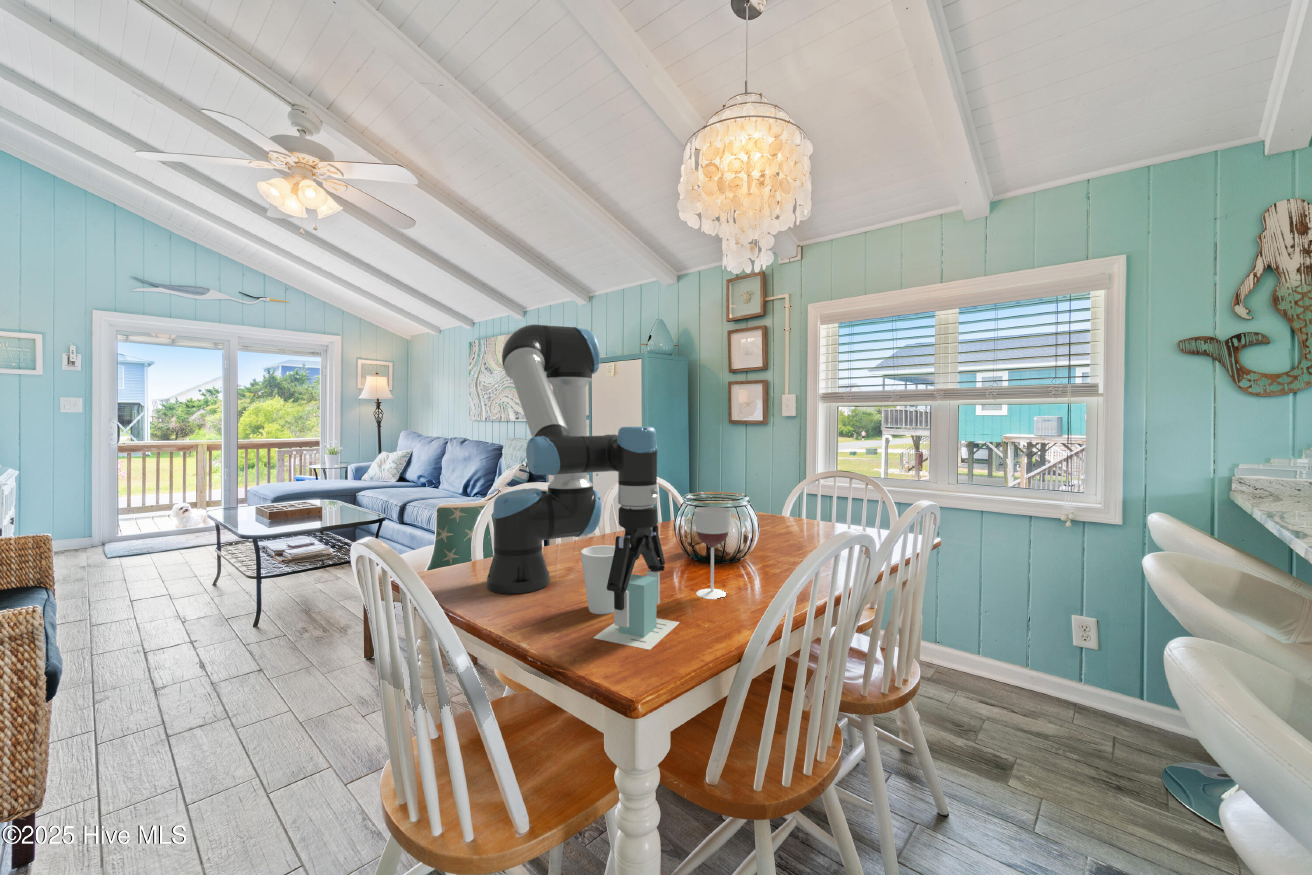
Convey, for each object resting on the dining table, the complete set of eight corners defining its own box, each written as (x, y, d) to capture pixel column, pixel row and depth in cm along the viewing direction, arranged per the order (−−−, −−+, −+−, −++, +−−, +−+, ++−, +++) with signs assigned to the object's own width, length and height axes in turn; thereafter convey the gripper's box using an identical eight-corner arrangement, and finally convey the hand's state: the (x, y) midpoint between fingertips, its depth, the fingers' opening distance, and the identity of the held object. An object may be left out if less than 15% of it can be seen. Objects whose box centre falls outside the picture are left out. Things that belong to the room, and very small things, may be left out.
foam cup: (617, 619, 112) (617, 557, 112) (575, 616, 114) (575, 555, 114) (629, 603, 122) (629, 546, 121) (589, 600, 124) (589, 544, 123)
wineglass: (736, 597, 126) (736, 511, 125) (701, 601, 123) (701, 513, 123) (722, 586, 134) (722, 506, 133) (689, 590, 131) (689, 507, 130)
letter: (592, 638, 103) (592, 637, 103) (627, 613, 115) (627, 612, 115) (649, 650, 98) (649, 649, 98) (679, 623, 110) (679, 622, 110)
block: (618, 632, 105) (618, 581, 105) (631, 622, 110) (631, 573, 110) (644, 637, 103) (644, 585, 102) (656, 627, 108) (656, 577, 107)
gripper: (624, 518, 93) (624, 640, 93) (680, 498, 115) (680, 596, 116) (586, 514, 96) (587, 633, 97) (648, 496, 118) (648, 592, 119)
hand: (638, 613), depth 106 cm, fingers open, 13 cm apart
